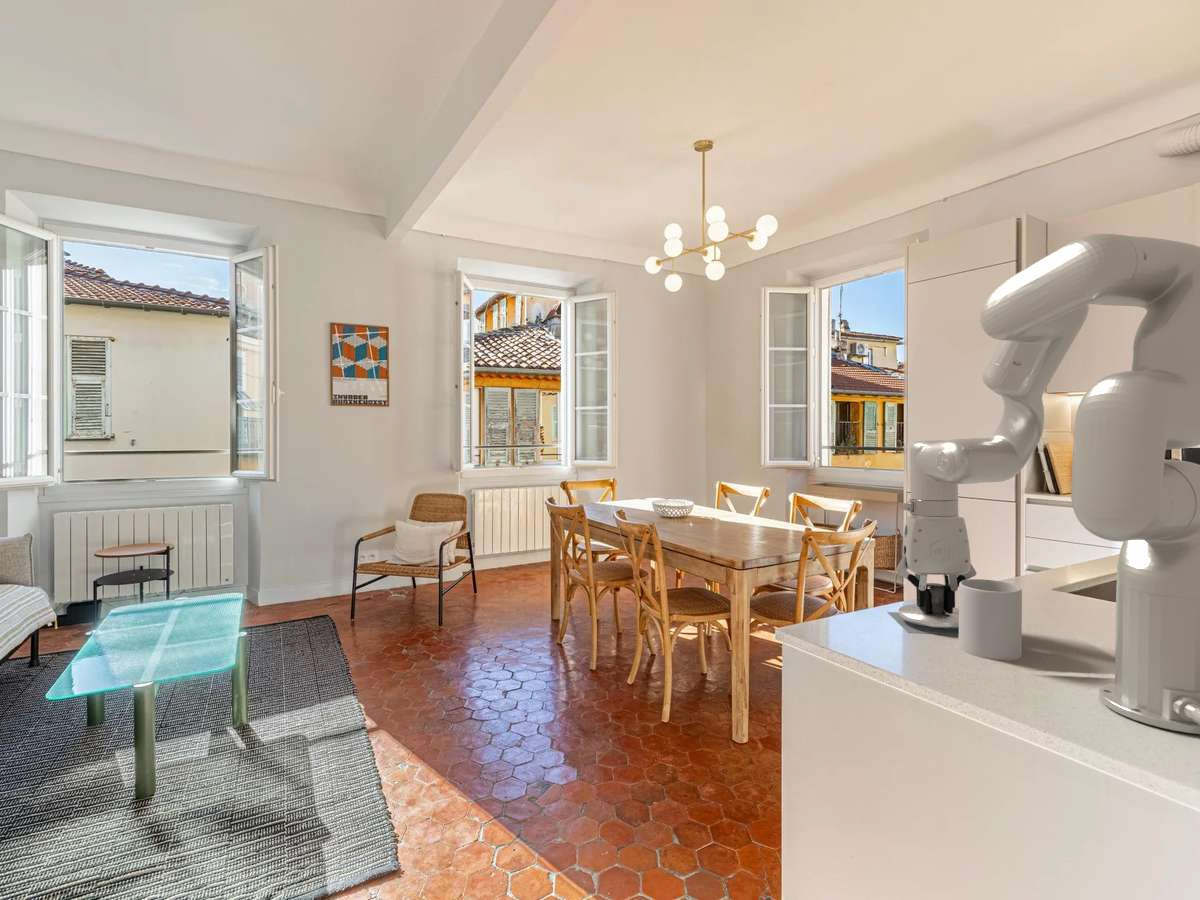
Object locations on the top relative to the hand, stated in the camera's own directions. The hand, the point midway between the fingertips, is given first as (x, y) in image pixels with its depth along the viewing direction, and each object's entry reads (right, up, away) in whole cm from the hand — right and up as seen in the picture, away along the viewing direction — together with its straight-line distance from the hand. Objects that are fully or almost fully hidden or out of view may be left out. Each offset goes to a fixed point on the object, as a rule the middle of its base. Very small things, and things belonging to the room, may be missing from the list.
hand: (935, 610), depth 111 cm
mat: (0, -3, +1) cm, 3 cm away
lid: (0, -1, 0) cm, 1 cm away
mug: (+3, -4, -12) cm, 13 cm away
